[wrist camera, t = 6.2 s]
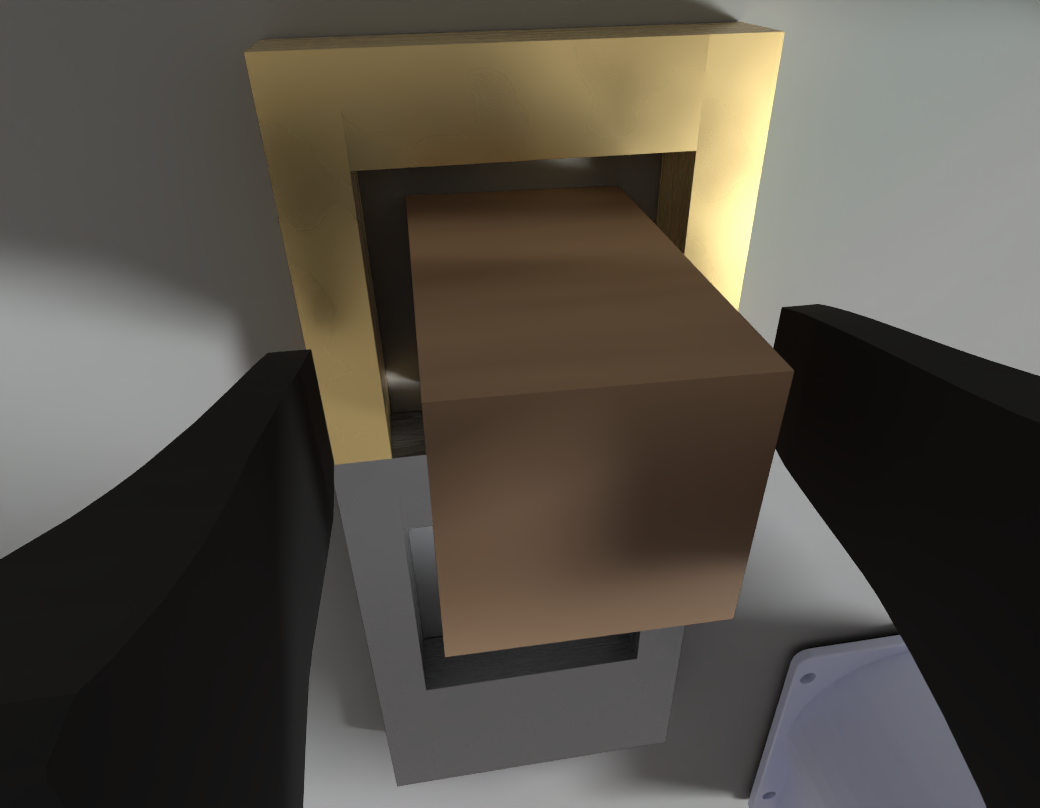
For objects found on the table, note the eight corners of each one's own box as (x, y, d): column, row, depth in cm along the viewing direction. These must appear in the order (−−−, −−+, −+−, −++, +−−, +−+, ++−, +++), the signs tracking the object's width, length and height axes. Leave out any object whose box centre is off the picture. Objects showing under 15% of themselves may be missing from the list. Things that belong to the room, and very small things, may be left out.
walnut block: (604, 367, 16) (733, 619, 10) (422, 382, 15) (445, 657, 9) (618, 185, 13) (794, 371, 8) (405, 195, 13) (422, 403, 7)
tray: (649, 695, 23) (665, 742, 21) (396, 734, 22) (397, 786, 20) (741, 21, 12) (784, 31, 11) (260, 39, 11) (244, 52, 10)
